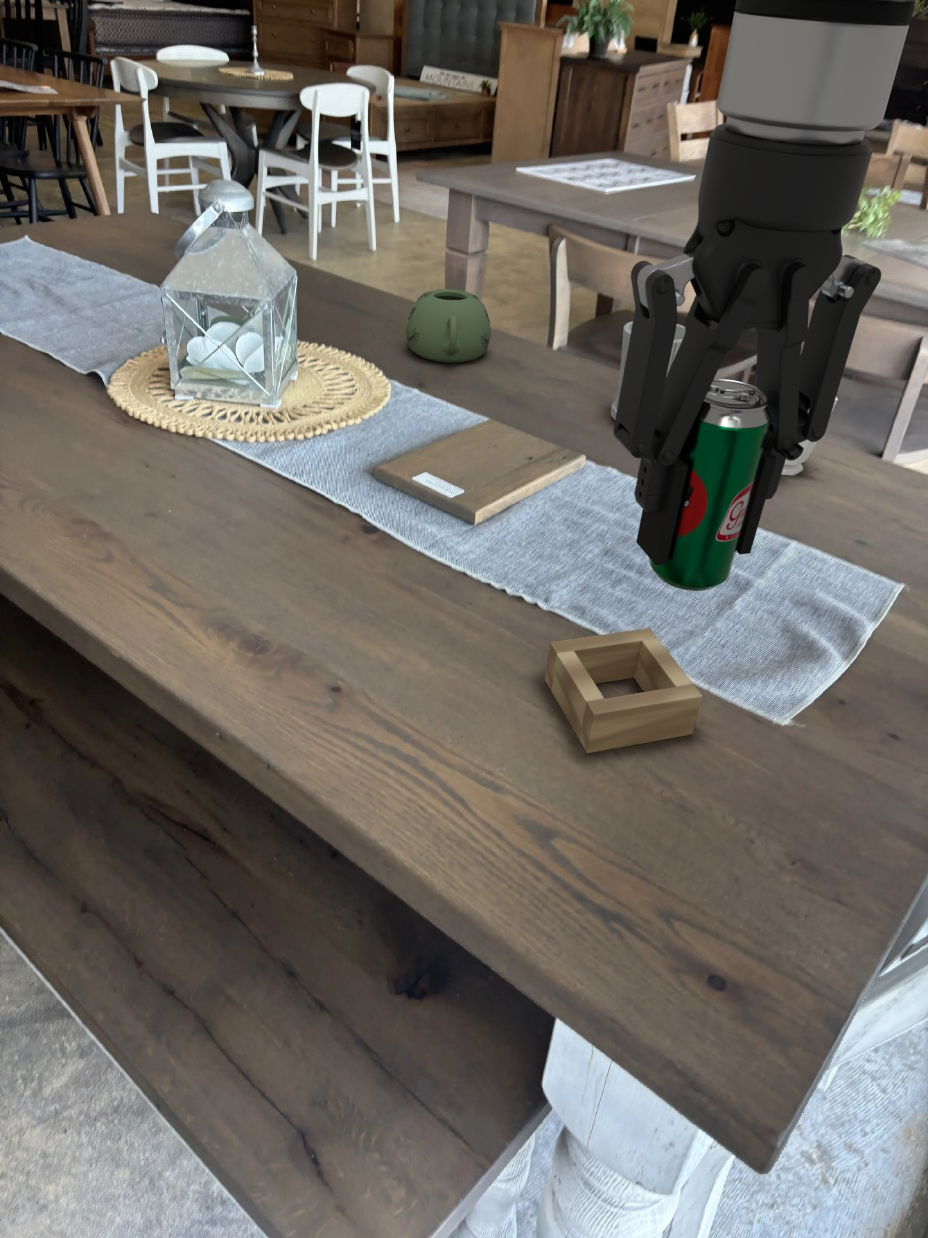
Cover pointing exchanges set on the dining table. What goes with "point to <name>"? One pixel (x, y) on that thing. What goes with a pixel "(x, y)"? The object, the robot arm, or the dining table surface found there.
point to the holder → (627, 717)
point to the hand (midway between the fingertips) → (693, 547)
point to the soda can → (716, 484)
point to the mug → (448, 326)
